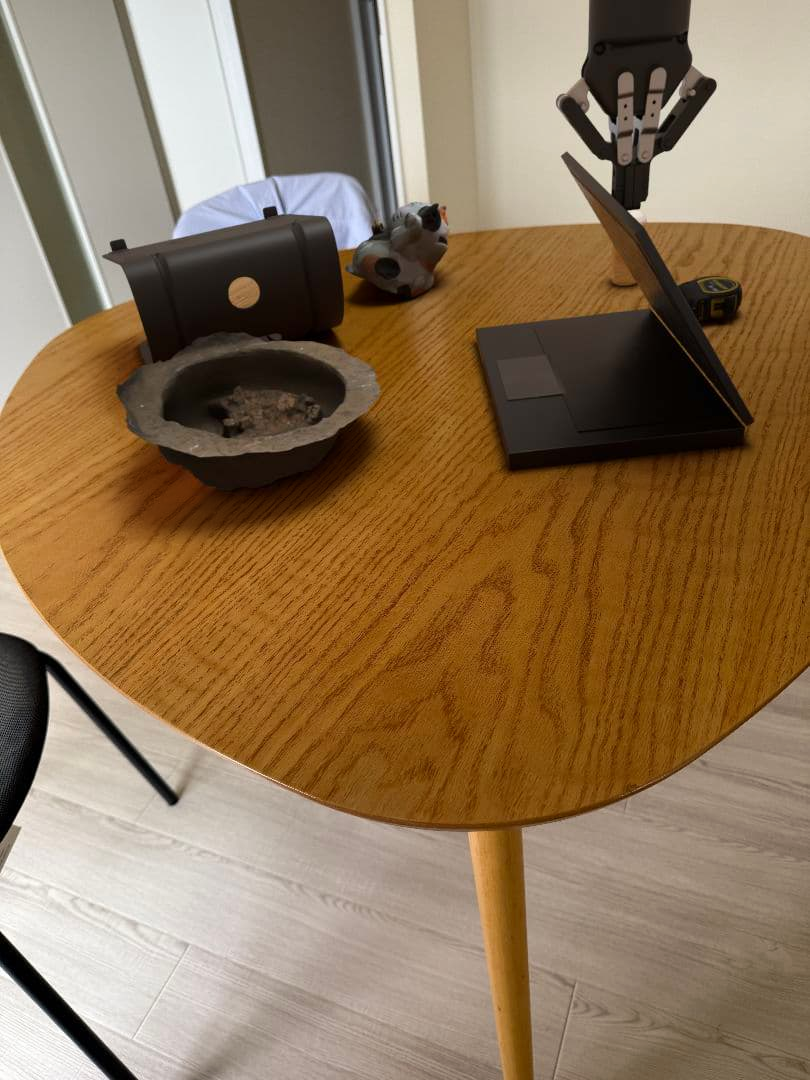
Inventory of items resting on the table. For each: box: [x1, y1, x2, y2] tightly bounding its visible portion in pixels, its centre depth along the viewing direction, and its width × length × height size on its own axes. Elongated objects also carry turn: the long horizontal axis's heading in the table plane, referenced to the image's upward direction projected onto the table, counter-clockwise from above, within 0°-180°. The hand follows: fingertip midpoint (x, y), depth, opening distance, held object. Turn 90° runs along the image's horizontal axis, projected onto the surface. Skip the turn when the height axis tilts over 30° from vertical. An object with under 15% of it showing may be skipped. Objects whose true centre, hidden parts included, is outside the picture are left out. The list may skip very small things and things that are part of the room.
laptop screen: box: [560, 151, 756, 427], centre depth 76 cm, size 21×30×1 cm
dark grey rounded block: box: [101, 205, 345, 365], centre depth 98 cm, size 26×24×16 cm
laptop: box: [475, 307, 746, 471], centre depth 82 cm, size 21×30×2 cm
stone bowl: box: [115, 332, 382, 491], centre depth 77 cm, size 25×25×9 cm
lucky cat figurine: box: [344, 200, 450, 299], centre depth 111 cm, size 15×12×14 cm
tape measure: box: [677, 275, 743, 322], centre depth 93 cm, size 7×7×4 cm
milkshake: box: [611, 210, 648, 287], centre depth 103 cm, size 4×5×10 cm
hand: (628, 208), depth 68 cm, fingers closed
